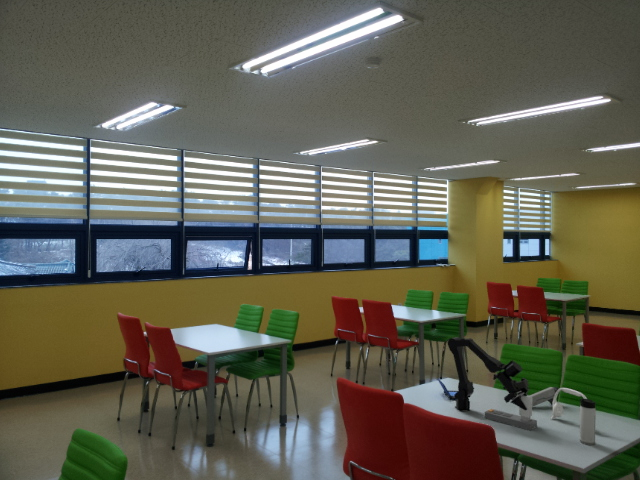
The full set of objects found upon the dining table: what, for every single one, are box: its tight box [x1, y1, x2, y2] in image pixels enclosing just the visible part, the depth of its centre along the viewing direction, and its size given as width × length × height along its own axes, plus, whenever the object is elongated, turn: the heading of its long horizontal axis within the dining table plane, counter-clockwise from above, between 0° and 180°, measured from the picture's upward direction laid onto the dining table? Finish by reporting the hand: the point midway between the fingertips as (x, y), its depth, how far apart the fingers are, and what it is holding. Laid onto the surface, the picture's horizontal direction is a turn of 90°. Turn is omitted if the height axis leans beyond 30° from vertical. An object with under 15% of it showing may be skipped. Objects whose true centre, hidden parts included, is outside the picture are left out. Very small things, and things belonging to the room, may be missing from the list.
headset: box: [550, 387, 588, 421], centre depth 252 cm, size 20×7×18 cm, turn 29°
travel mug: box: [579, 397, 597, 446], centre depth 228 cm, size 6×7×20 cm
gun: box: [527, 386, 560, 408], centre depth 281 cm, size 2×25×10 cm, turn 110°
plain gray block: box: [518, 395, 533, 422], centre depth 248 cm, size 5×5×12 cm
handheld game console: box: [437, 378, 458, 401], centre depth 297 cm, size 16×13×9 cm
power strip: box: [484, 408, 538, 431], centre depth 254 cm, size 24×8×4 cm, turn 45°
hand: (528, 408), depth 247 cm, fingers closed on plain gray block, 5 cm apart
